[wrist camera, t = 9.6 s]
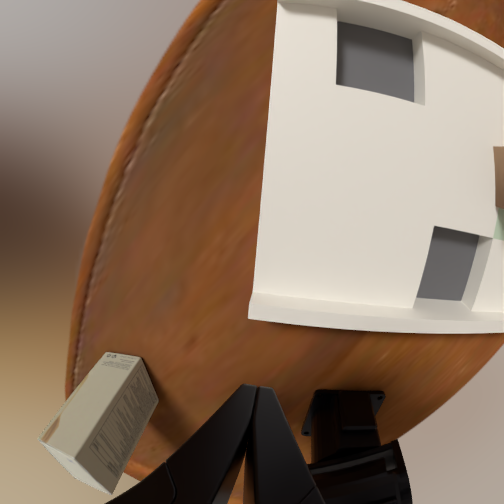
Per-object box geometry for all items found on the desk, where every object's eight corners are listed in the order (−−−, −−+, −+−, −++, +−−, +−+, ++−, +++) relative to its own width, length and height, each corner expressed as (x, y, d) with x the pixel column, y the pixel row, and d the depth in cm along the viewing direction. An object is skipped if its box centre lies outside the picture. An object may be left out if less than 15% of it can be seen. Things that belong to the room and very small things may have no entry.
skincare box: (106, 349, 23) (32, 434, 12) (142, 355, 23) (71, 456, 11) (126, 396, 25) (72, 479, 14) (161, 403, 25) (112, 497, 13)
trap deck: (500, 312, 17) (520, 331, 14) (255, 292, 19) (247, 318, 16) (530, 91, 11) (554, 87, 8) (280, 6, 13) (277, -22, 10)
